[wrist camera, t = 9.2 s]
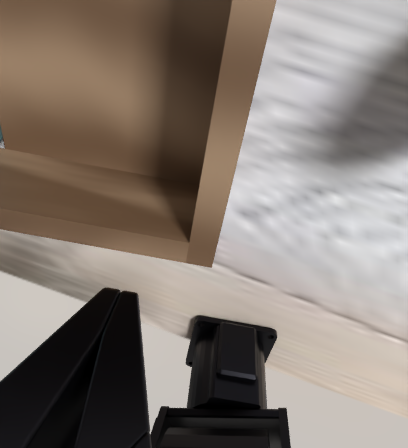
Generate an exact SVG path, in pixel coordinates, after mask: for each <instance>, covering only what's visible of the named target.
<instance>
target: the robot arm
mask: <svg viewBox="0 0 408 448" xmlns="http://www.w3.org/2000/svg"><path fill="white" fill-rule="evenodd" d="M276 339H277V332H276V330H274V329H270V328H265V327H259V326H253V325H248V324H242V323H237V322H231V321H225V320H220V319H214V318H209V317H203V316H199V317H197V318H196V319H195V323H194V328H193V332H192V336H191V341H190V345H189V349H188V354H187V358H186V365H188V366H190V367H192V371H191V379H190V386H189V387H190V388H189V395H188V402H187V408H169V407H168V406H167V407H166V406H162V407H161V408H160V411H159V414H158V417H157V418H156V420H155V423H154V426H153V429H152V432H151V435H150V433H149V432H150V425H149V415H148V403H147V390H146V380H145V367H144V357H143V344H142V333H141V321H140V310H139V298H138V294H137V293H135V292H129V291H122V292H121V291H120V290H118V289H113V288H103V289H102V290H101V291H100V292H99V293H97V294H96V295H95V296H94V297H93V298H92V299H91V300H90V301H89V302H88V303H86V304H85V305H84V306H83V307H82V308H81V309H80V310H79V311H78V312H77V313H76V314H74V315H73V316H72V317H71V318H70V319H69V320H68V321H67V322H65V323H64V324H63V325H62V326H61V327H60V328H59V329H58V330H57V331H56V332H54V333H53V334H52V335H51V336H50V337H49V338H48V339H47V340H46V341H45V342H43V343H42V344H41V345H40V346H39V347H38V348H37V349H36V350H35V351H33V352H32V353H31V354H30V355H29V356H28V357H27V358H26V359H25V360H24V361H23V362H21V363H20V364H19V365H18V366H17V367H16V368H15V369H14V370H13V371H11V372H10V373H9V374H8V375H7V376H6V377H5V378H4V379H3V380H1V381H0V448H291V446H290V436H289V427H288V418H287V409H286V408H278V409H267V400H266V382H265V362H266V360H267V358H268V356H269V354H270V352H271V350H272V348H273V345H274V343H275V341H276Z"/></svg>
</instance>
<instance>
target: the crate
mask: <svg viewBox="0 0 408 448" xmlns="http://www.w3.org/2000/svg"><path fill="white" fill-rule="evenodd" d="M275 4H276V0H0V125H1V130H2V135H3V140H4V145H5V149H3V148H0V229H3V230H8V231H14V232H19V233H24V234H30V235H35V236H41V237H46V238H52V239H57V240H63V241H68V242H74V243H79V244H85V245H90V246H96V247H101V248H107V249H112V250H118V251H123V252H129V253H134V254H140V255H145V256H151V257H156V258H162V259H167V260H173V261H178V262H184V263H189V264H195V265H200V266H205V267H211V268H212V264H213V260H214V256H215V252H216V247H217V243H218V239H219V235H220V231H221V227H222V223H223V218H224V214H225V210H226V206H227V202H228V198H229V194H230V190H231V185H232V181H233V177H234V173H235V169H236V165H237V161H238V156H239V152H240V148H241V144H242V140H243V136H244V132H245V128H246V123H247V119H248V115H249V111H250V107H251V103H252V99H253V94H254V90H255V86H256V82H257V78H258V74H259V70H260V66H261V61H262V57H263V53H264V49H265V45H266V41H267V37H268V32H269V28H270V24H271V20H272V16H273V12H274V8H275Z"/></svg>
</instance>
